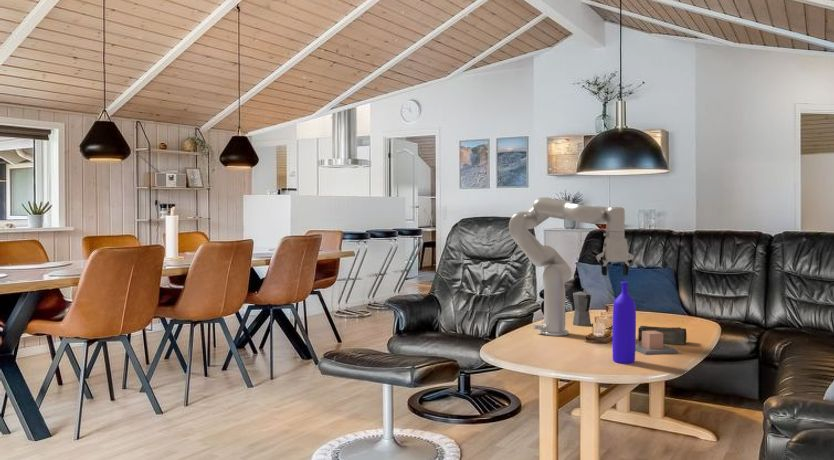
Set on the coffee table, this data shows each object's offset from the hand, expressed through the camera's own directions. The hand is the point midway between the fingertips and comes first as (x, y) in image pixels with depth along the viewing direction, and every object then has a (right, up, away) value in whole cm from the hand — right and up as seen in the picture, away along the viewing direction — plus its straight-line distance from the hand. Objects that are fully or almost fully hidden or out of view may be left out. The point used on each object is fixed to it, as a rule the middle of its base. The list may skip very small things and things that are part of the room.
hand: (614, 275), depth 289 cm
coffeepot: (-5, -27, +37) cm, 46 cm away
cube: (+10, -28, -18) cm, 35 cm away
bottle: (-8, -30, -38) cm, 49 cm away
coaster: (+10, -29, -18) cm, 36 cm away
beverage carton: (+20, -29, -2) cm, 35 cm away
